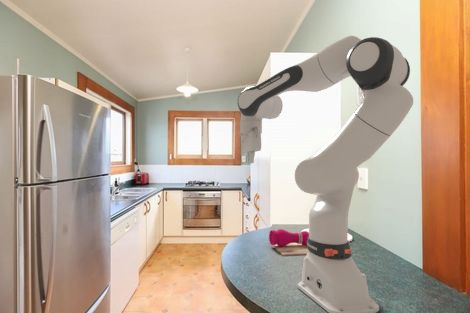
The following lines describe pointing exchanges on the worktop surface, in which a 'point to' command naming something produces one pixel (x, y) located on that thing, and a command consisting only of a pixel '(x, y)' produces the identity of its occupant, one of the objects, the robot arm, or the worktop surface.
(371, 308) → the robot arm
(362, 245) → the worktop surface
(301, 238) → the pepper mill
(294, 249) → the wooden board
